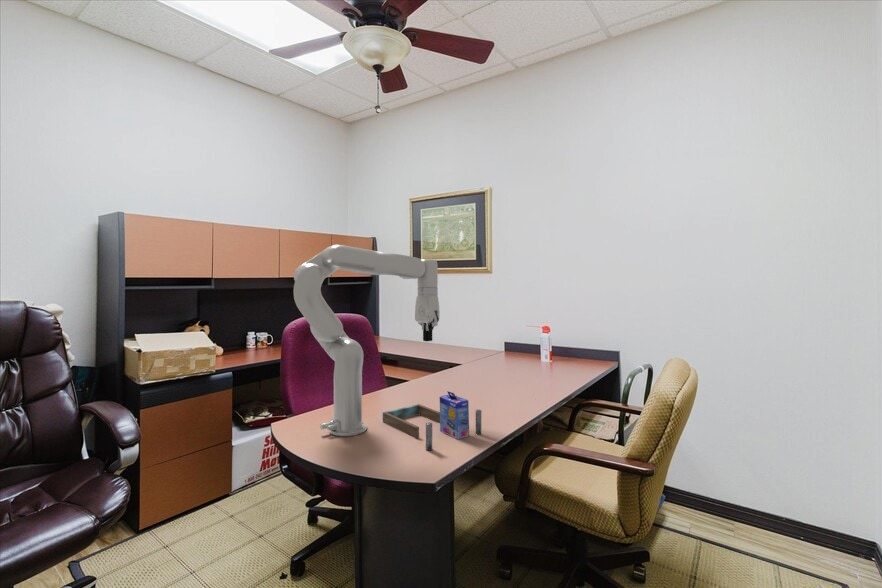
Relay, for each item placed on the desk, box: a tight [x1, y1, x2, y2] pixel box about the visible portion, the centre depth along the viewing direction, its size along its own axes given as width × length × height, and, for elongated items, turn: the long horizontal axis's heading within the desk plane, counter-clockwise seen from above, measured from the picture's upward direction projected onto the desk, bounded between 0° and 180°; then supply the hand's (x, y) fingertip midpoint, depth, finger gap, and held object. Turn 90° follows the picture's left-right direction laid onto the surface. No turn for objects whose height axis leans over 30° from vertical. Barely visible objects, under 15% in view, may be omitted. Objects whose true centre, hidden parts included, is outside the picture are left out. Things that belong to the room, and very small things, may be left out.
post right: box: [475, 409, 482, 436], centre depth 141 cm, size 2×2×8 cm
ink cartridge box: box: [439, 391, 470, 440], centre depth 141 cm, size 10×6×14 cm, turn 37°
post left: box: [425, 422, 433, 452], centre depth 128 cm, size 2×2×8 cm
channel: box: [382, 403, 440, 439], centre depth 151 cm, size 16×21×4 cm
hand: (427, 340), depth 158 cm, fingers closed
